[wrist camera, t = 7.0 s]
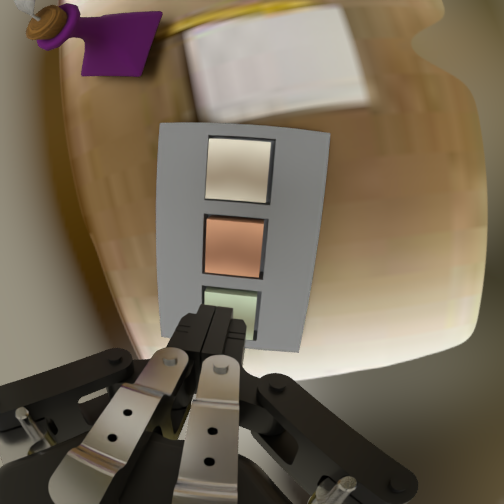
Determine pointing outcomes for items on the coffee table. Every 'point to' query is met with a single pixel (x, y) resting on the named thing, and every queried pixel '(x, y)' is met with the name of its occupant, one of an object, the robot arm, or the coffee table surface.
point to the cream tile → (237, 170)
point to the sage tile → (235, 304)
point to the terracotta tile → (233, 245)
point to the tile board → (273, 212)
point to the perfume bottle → (96, 36)
